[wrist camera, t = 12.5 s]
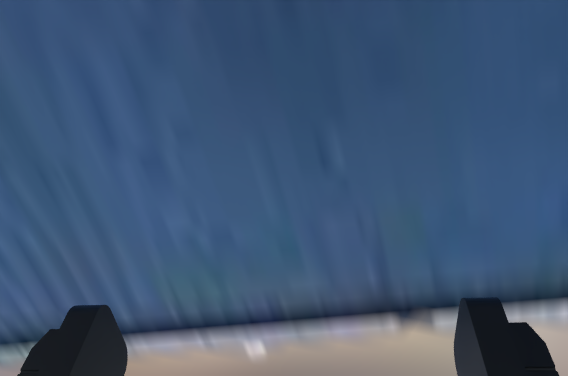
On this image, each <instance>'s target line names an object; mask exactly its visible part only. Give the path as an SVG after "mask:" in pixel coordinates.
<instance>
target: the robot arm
mask: <svg viewBox="0 0 568 376" xmlns="http://www.w3.org/2000/svg"><path fill="white" fill-rule="evenodd" d="M454 356H455V365H456V370H457V374H458V376H559V374H558V372H557V371H556V370H555V365H554V362H553V360H552V358H551V355H550V353H549V350H548V348H547V346H546V343H545V342H544V341H543V340H542V339H541V338H540V337H539V335H538V334H537V333H536V332H535V331H534V330H533V329H532V328H531V327H530V326H529V325H528V324H527V323H526V322H522V323H508V320H507V317H506V314H505V312H504V309H503V306H502V304H501V302H500V300H499V299H498V298H496V297H492V298H462V299H461V301H460V305H459V312H458V319H457V325H456V332H455V339H454ZM126 366H127V347H126V344H125V341H124V339H123V337H122V334H121V332H120V330H119V328H118V325H117V323H116V321H115V318H114V316H113V314H112V312H111V310H110V308H109V307H108V306H107V305H81V306H73V307H72V308H71V309H70V310H69V311H68V313H67V315H66V317H65V319H64V321H63V323H62V325H61V327H60V329H50V330H49V331H48V332H47V333H46V334H45V335H44V336H43V337H42V339H41V340H40V341H39V342H38V343H37V344H36V345H35V346H34V347H33V348H32V349H31V351H30V353H29V355H28V357H27V358H26V360H25V362H24V364H23V366H22V368H21V373H20V374H18V375H17V376H124V374H125V371H126Z"/></svg>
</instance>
